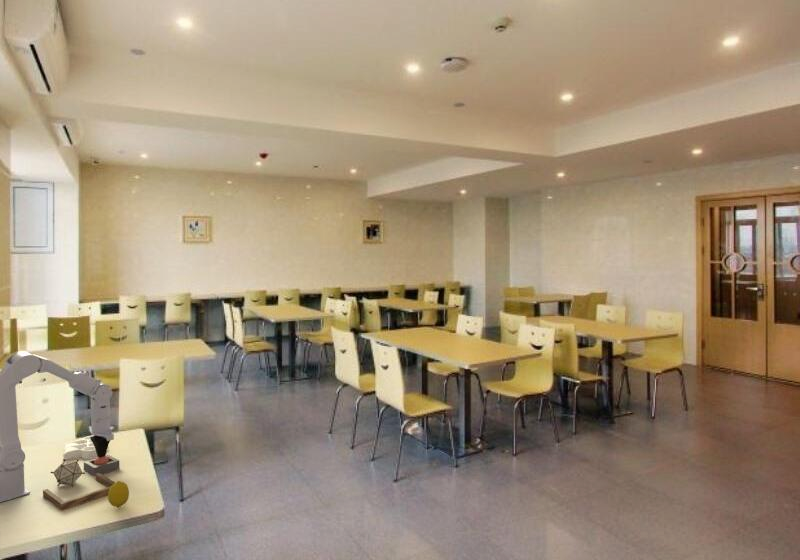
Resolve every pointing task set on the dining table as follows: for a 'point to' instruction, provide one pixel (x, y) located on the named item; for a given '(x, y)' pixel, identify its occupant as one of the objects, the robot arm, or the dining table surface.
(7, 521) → the dining table surface
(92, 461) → the dome housing
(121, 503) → the lemon
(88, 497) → the brown wooden u shape
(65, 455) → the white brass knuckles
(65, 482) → the game die
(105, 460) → the salmon ball
